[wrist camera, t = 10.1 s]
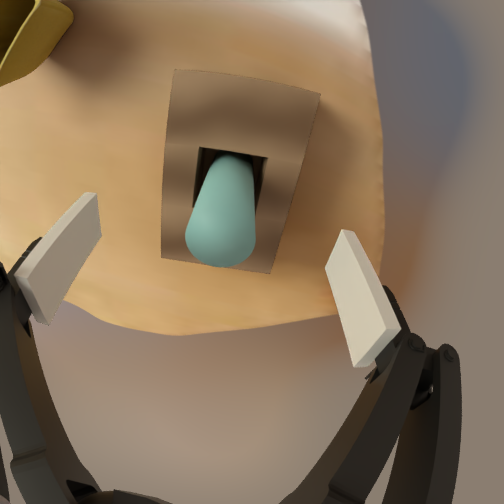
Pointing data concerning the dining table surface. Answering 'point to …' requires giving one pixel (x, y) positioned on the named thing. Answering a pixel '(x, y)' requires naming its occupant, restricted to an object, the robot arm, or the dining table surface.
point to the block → (237, 140)
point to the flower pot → (29, 34)
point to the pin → (224, 212)
